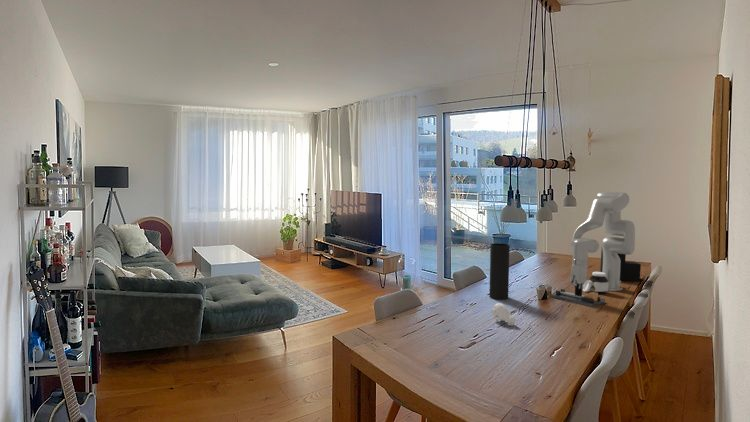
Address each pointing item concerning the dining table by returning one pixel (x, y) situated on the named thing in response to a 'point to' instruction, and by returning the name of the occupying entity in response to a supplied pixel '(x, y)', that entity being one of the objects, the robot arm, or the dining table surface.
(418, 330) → the dining table surface
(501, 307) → the white rounded lump
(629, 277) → the bookend
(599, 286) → the spread jar
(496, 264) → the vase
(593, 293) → the block
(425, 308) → the dining table surface
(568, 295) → the strap
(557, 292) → the plate
